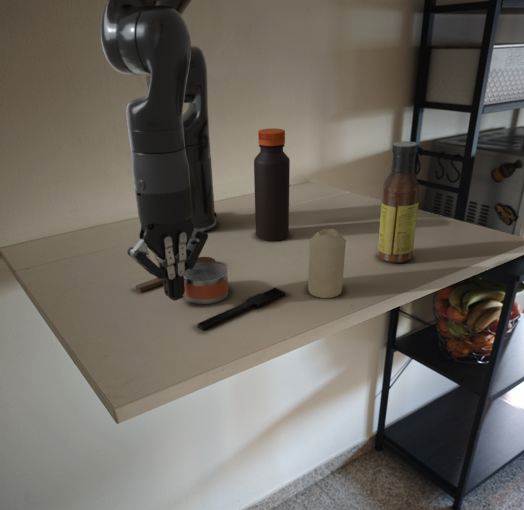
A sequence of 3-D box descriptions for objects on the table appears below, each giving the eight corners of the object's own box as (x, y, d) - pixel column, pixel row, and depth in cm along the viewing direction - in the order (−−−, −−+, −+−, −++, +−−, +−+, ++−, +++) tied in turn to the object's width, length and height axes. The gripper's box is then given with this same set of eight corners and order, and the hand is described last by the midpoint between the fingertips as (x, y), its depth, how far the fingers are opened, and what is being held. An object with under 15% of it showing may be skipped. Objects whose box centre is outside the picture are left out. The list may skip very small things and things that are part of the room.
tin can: (175, 294, 81) (172, 271, 79) (209, 280, 85) (207, 258, 83) (202, 309, 77) (200, 285, 75) (237, 293, 81) (236, 270, 79)
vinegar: (269, 244, 98) (268, 135, 87) (249, 234, 103) (245, 130, 92) (295, 236, 102) (297, 130, 91) (274, 227, 106) (274, 126, 95)
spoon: (145, 295, 81) (144, 289, 80) (131, 286, 84) (130, 281, 83) (220, 267, 90) (220, 261, 89) (205, 260, 92) (205, 254, 92)
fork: (205, 332, 71) (205, 328, 71) (194, 326, 73) (194, 321, 72) (285, 295, 80) (286, 291, 80) (274, 290, 82) (274, 286, 81)
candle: (340, 299, 78) (345, 239, 73) (305, 296, 80) (307, 236, 74) (343, 284, 83) (348, 226, 77) (310, 281, 84) (312, 224, 78)
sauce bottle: (414, 254, 93) (432, 140, 82) (407, 266, 88) (426, 148, 77) (379, 248, 95) (393, 138, 84) (371, 261, 91) (384, 145, 80)
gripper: (186, 171, 74) (196, 278, 83) (104, 187, 66) (125, 303, 76) (217, 180, 69) (223, 292, 78) (133, 198, 62) (151, 320, 71)
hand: (175, 297), depth 77 cm, fingers closed
